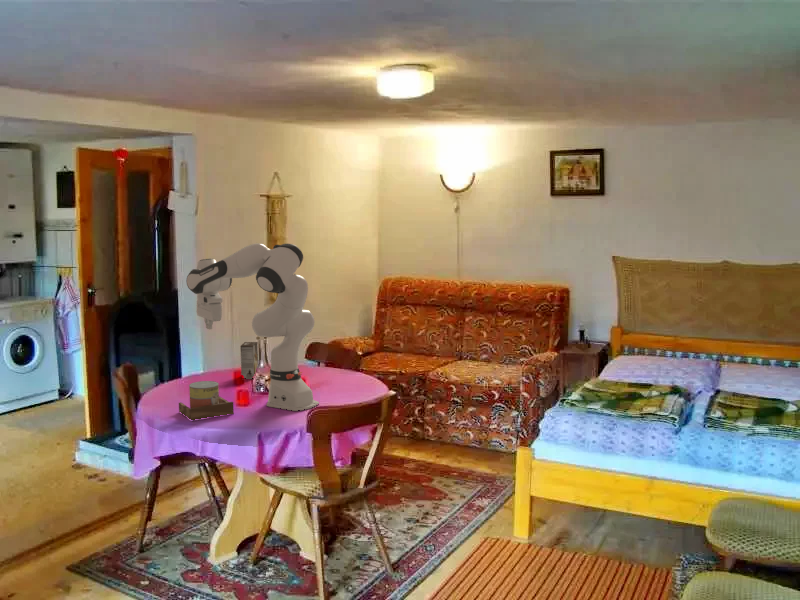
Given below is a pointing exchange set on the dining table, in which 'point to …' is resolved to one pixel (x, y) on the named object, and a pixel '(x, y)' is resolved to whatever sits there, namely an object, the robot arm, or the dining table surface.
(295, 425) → the dining table surface
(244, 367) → the coffee box
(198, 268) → the robot arm
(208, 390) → the canned food
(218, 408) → the box
